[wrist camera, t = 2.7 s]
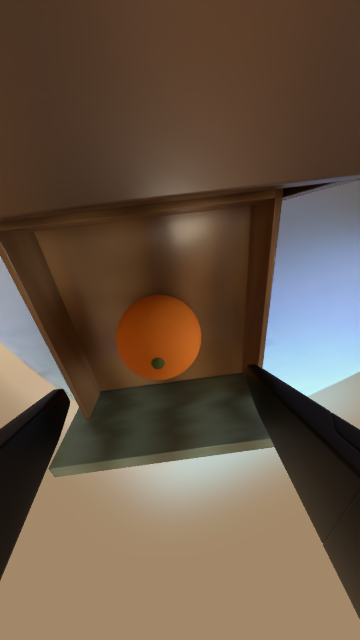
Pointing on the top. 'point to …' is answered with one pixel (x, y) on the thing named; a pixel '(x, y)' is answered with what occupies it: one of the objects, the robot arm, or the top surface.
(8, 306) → the top surface
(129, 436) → the drawer
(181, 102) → the cabinet
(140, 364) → the orange
